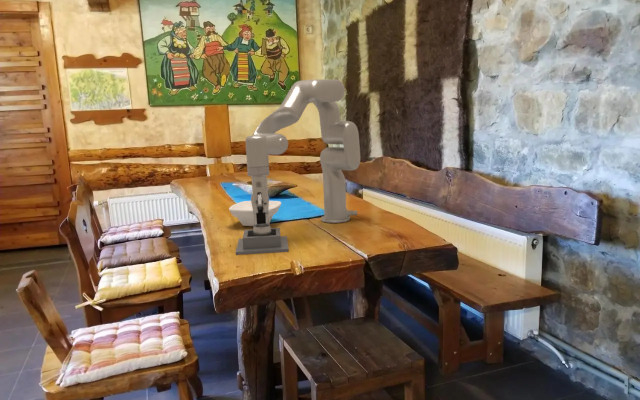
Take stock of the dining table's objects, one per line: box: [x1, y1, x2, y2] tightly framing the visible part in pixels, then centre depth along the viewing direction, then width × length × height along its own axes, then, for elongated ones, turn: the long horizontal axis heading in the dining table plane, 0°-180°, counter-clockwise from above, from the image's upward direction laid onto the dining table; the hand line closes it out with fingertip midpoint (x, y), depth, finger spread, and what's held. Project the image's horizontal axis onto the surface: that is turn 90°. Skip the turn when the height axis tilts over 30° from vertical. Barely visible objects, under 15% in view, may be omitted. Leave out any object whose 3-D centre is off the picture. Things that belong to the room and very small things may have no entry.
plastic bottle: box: [250, 193, 272, 237], centre depth 170 cm, size 6×7×20 cm
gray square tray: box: [235, 227, 290, 256], centre depth 171 cm, size 18×17×5 cm
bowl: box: [228, 200, 282, 227], centre depth 204 cm, size 21×21×9 cm
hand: (261, 221), depth 170 cm, fingers closed on plastic bottle, 5 cm apart
